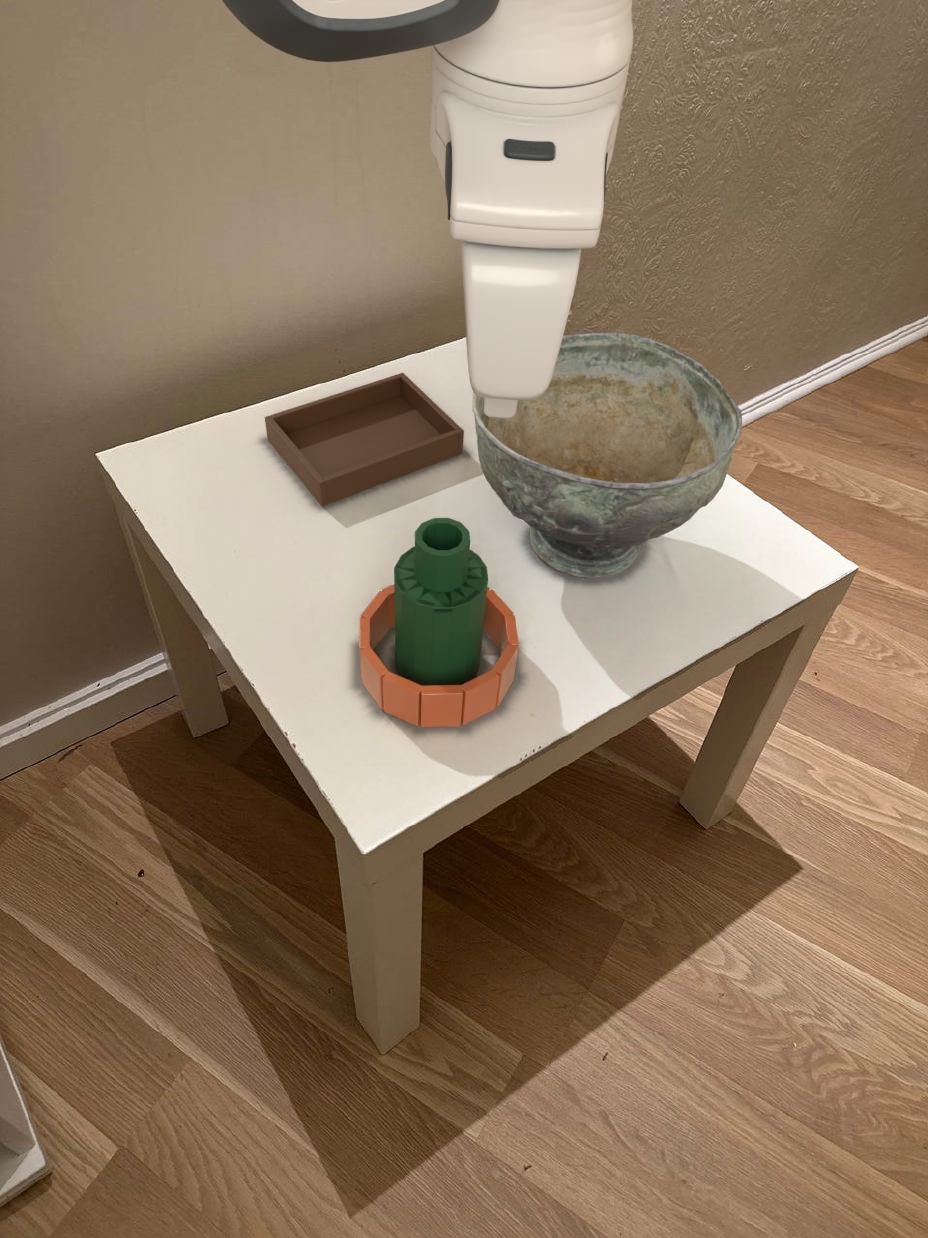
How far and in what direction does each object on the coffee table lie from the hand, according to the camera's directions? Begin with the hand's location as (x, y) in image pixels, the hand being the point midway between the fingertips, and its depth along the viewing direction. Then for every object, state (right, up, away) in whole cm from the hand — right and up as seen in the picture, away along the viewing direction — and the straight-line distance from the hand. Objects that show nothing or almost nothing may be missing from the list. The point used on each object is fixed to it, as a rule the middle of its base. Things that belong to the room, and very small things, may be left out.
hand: (499, 355), depth 53 cm
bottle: (-4, -19, +16) cm, 25 cm away
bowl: (+8, -9, +26) cm, 28 cm away
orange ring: (-4, -19, +16) cm, 25 cm away
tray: (-12, +1, +33) cm, 35 cm away
